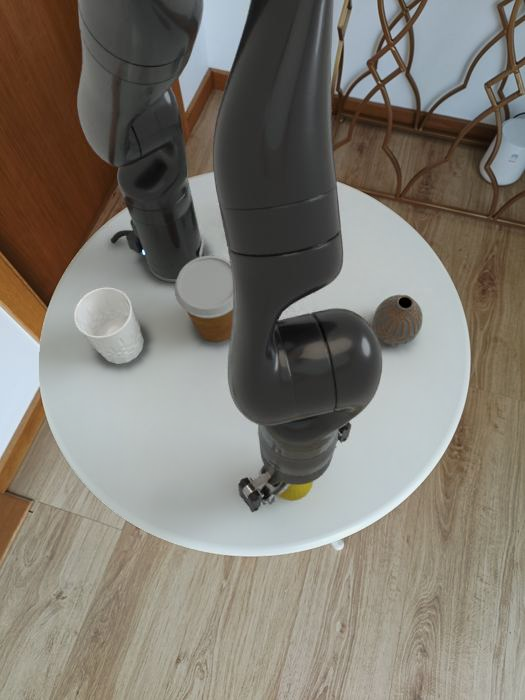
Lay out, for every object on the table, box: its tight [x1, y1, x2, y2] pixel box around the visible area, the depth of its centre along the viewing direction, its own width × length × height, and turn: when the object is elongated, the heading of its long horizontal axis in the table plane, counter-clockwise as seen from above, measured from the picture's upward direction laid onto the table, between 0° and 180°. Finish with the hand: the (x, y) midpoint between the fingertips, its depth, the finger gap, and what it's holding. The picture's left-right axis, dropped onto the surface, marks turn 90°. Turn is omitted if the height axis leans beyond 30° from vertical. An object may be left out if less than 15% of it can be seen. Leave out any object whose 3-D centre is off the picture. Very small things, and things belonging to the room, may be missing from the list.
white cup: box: [73, 286, 145, 365], centre depth 77 cm, size 8×8×10 cm
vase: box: [372, 294, 424, 347], centre depth 77 cm, size 7×7×9 cm
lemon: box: [277, 481, 314, 502], centre depth 68 cm, size 6×6×8 cm
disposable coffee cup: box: [174, 255, 233, 343], centre depth 77 cm, size 10×10×12 cm
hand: (294, 475), depth 66 cm, fingers open, 8 cm apart
